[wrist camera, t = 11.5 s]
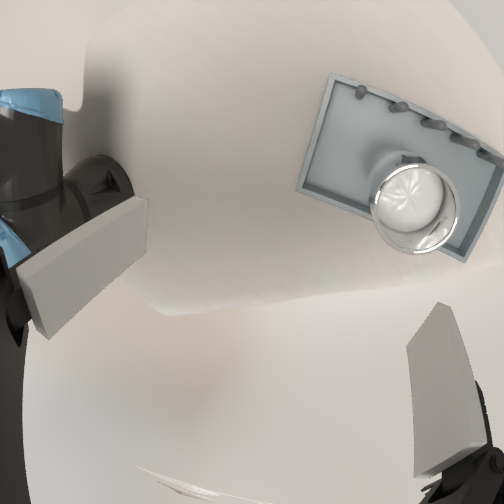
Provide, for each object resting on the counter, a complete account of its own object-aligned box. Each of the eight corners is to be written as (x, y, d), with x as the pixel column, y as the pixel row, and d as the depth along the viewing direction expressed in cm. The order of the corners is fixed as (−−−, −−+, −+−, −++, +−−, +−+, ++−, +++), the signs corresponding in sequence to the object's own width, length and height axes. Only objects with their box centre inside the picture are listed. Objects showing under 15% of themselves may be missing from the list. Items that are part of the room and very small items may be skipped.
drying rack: (300, 183, 35) (286, 202, 28) (332, 76, 28) (327, 65, 21) (457, 250, 31) (475, 282, 25) (499, 157, 24) (530, 170, 18)
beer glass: (428, 156, 27) (477, 189, 15) (405, 208, 31) (434, 271, 18) (374, 130, 28) (393, 142, 16) (354, 185, 32) (354, 235, 19)
